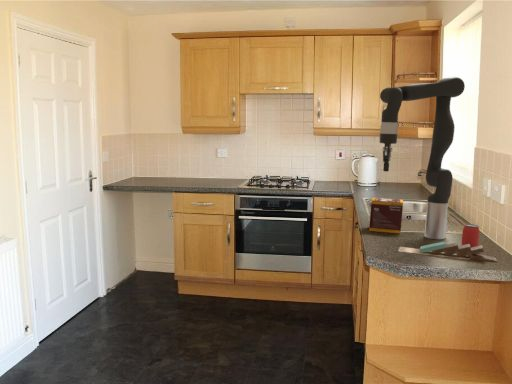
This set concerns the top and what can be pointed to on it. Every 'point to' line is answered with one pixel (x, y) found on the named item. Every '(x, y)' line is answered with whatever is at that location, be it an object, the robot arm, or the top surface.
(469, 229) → the beer can
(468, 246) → the walnut domino
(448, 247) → the walnut domino
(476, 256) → the walnut domino
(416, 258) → the top surface
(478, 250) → the walnut domino
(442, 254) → the birch board
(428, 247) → the teal domino
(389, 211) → the supplement box
